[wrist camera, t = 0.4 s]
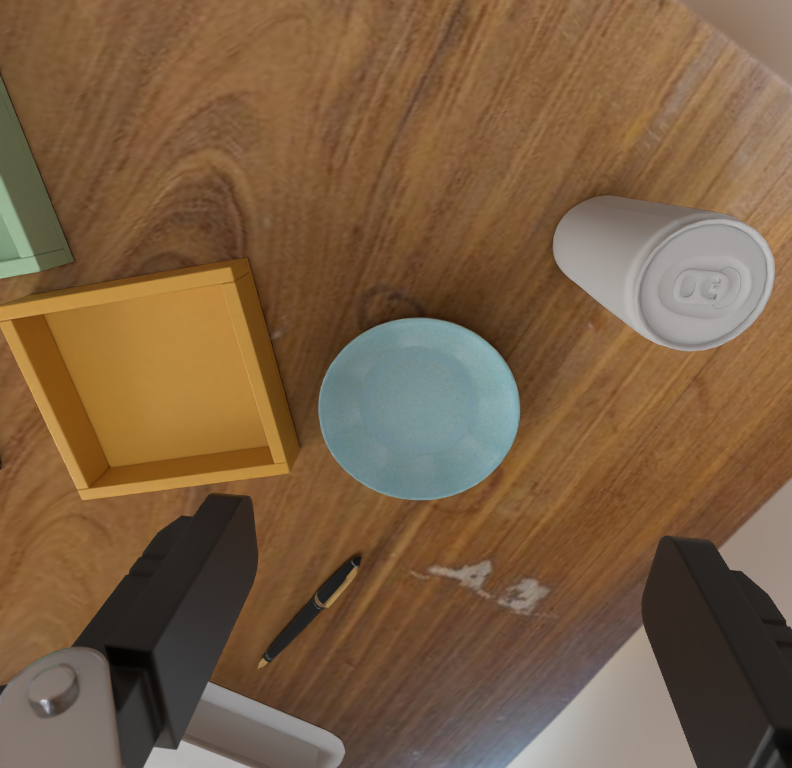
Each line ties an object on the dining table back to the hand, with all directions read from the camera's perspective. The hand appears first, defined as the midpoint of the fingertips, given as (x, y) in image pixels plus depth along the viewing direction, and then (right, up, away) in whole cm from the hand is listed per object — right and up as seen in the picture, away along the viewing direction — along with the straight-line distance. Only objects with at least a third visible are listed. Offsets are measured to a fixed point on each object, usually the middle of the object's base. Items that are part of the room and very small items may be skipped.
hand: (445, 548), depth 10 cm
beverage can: (+10, +11, +19) cm, 24 cm away
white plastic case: (-18, -28, +36) cm, 49 cm away
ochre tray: (-15, +4, +22) cm, 27 cm away
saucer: (0, +2, +23) cm, 23 cm away
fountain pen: (-8, -14, +30) cm, 34 cm away
